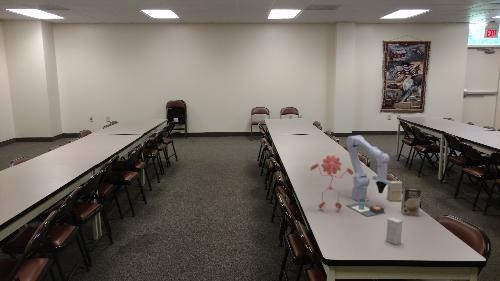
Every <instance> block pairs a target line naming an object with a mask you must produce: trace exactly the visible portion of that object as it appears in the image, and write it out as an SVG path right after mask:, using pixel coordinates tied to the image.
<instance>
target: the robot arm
mask: <svg viewBox="0 0 500 281" xmlns="http://www.w3.org/2000/svg"><path fill="white" fill-rule="evenodd" d="M345 142H346V145H347V151H348V154H349V158H350V160H351V164H352V167H353V168H352V169H353V173H354V174H353V178H352V179H353V187H352V190H351V197H350V199H353V200H355V201H357V202H359V199H365V202H367V201H370V199H368V198H367V193H368V192H367V188H368V187H369V185H370V183H371V182H370V178H369V177H368V175H367V173H365V172H364V170H363V167H362V164H361V161H360V158H359V156H360V155H359V154H358V148H359V147H360V146H362V147H363V149H366V150H367V151H368V153H369V154H370V155H371V156H372V157H373V158H374V159H375V160H376V163H377V172H376V176H375V175H374V176H371V177H372V180H374V181H375V185H376V187H377V190H378V194H383V193H384V189H385V188H386V186H388V185H391V182H390V181H391V180H388V179H387V178H388V177H387V176H388V163H389V162H390V160H391V157H390V155H389V153H387V152H384V151H381V150H380V149H379V148H378V146H372V145H371V144H370V143H369V142H368V141H367V140H365V137H364V136H363V135H360V134H357V135H349V136H348V137H347V139H346V141H345Z"/></svg>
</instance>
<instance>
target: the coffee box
mask: <svg viewBox="0 0 500 281" xmlns="http://www.w3.org/2000/svg"><path fill="white" fill-rule="evenodd" d="M421 193H422V190H421V188H419V187H412V186H402V197H401V206H400V212H401V213H402V215H406V216H415V217H419V214H420V213H419V212H420V203H421V195H422V194H421Z"/></svg>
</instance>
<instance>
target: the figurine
mask: <svg viewBox="0 0 500 281" xmlns="http://www.w3.org/2000/svg"><path fill="white" fill-rule="evenodd" d="M340 160H341V158H340V157H339V156H337V157H336V155H334V154H333V155H331V156H330V155H328V154H327V156H325V158H323V159H322V163H321V165H319V163H315V164H313V165H312V166H311V167H310V170H309V171H310V172H311V171H314V170H315V169H317V168H318V170H319V173H320V175H321V177H327V176H328V177H329V176H330V177H331V181H330V185H328V187H327V188H326V189H325V190H324V191H322V192H321V199H322V200H321V201H322V202H321V203H319V204H318V205H315V207H316V206H318V208H319V210H320V209H322V212H323V213H324V210H325V207H324V206H325V205H326V206H327V205H328V206H329V205H330V204H328V203H326V202H325V201H324V196H323V195H324V193H325V191H327V190H330V191H332V190H334V191H336V192H337V193H338V195H340V194H341V193H340V191H338V190H336V189H334V188H333V186H332V183H333V180H334V178H338V179H342V178H343V176H344V175H345V174H346V173H348V174H349V175H351V176H354V170H352V169H351V168H349V167H347V168H346V170H345V171H344V172H343V173H342V174H341V176H340V177H339V176H337V171H338V172H339V171H342V168H341V166H342V162H341V161H340ZM320 166H321V167H322V171H323V172H324V173H325V172H326V173H327V174H323V173H322V171H321V168H320ZM339 200H340V196H338V198H337V202H336V203H335V204H334V206H335V207H336V209H337V213H338V214H339V210H341V208H342V206H343V205H342V204H341V203H340V202H339Z"/></svg>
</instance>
